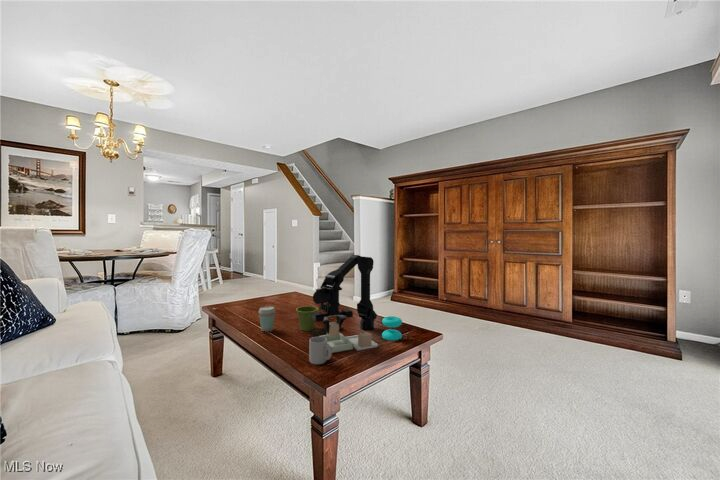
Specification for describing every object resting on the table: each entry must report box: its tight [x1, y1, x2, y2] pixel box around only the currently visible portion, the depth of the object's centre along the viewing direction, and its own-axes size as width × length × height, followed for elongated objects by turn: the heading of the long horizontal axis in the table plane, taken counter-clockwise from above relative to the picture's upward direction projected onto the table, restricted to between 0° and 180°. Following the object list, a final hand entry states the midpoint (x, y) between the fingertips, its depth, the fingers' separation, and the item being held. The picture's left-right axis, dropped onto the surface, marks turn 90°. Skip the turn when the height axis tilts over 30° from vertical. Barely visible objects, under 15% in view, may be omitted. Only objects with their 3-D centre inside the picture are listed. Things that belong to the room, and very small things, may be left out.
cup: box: [308, 336, 333, 365], centre depth 125 cm, size 7×10×9 cm
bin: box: [319, 332, 354, 354], centre depth 142 cm, size 11×16×3 cm
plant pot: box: [295, 305, 319, 332], centre depth 165 cm, size 12×12×11 cm
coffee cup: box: [258, 306, 276, 333], centre depth 162 cm, size 9×8×12 cm
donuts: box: [381, 315, 403, 341], centre depth 153 cm, size 10×10×10 cm
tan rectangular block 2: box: [357, 331, 373, 347], centre depth 141 cm, size 4×4×6 cm
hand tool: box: [311, 326, 342, 338], centre depth 159 cm, size 19×4×5 cm, turn 137°
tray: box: [345, 334, 380, 351], centre depth 146 cm, size 11×16×1 cm
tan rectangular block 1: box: [326, 321, 340, 337], centre depth 145 cm, size 4×4×6 cm
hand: (332, 332), depth 146 cm, fingers closed on tan rectangular block 1, 4 cm apart
